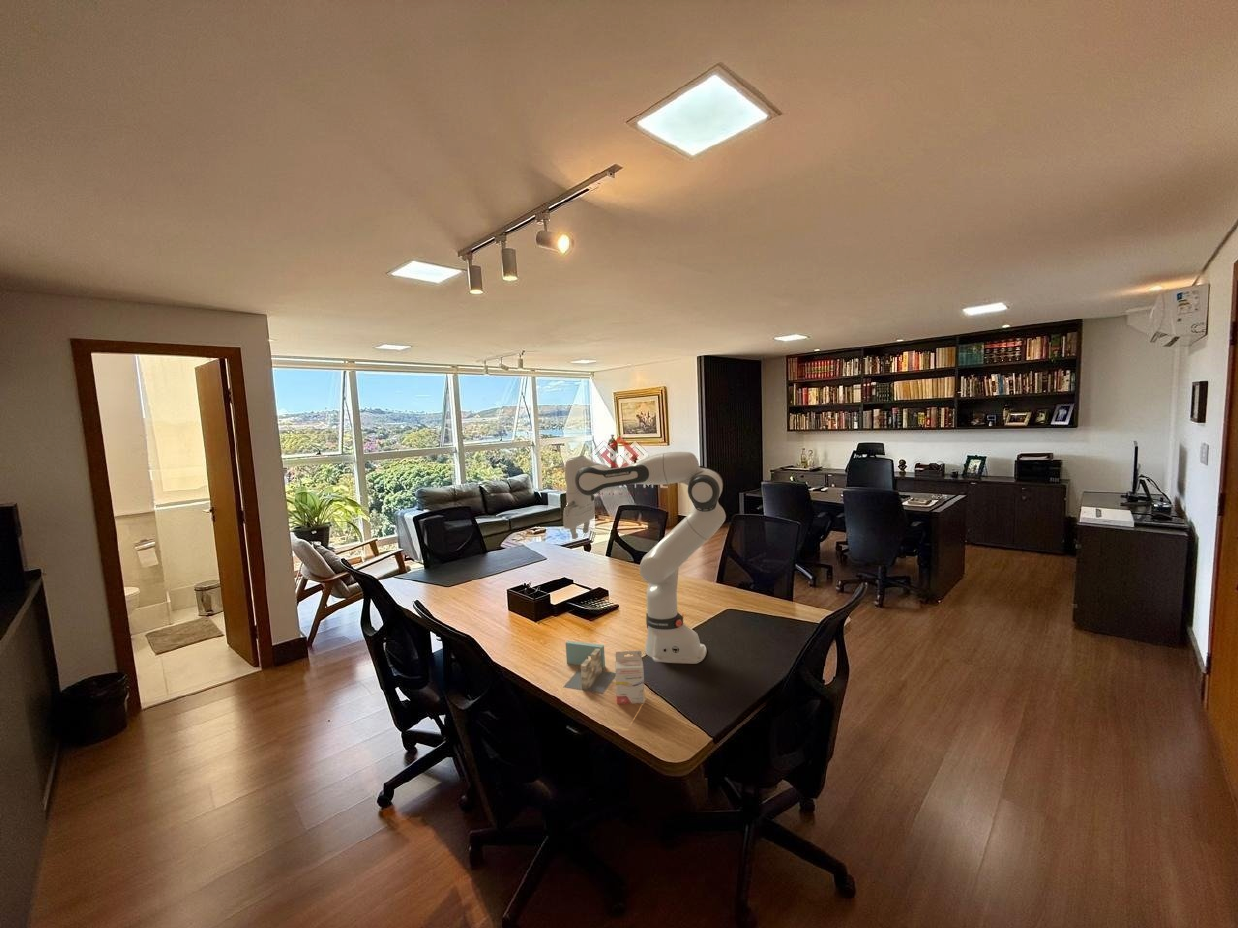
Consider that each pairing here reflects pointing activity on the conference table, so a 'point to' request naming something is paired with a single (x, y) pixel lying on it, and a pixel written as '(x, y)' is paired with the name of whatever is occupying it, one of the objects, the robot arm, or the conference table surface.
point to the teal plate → (582, 652)
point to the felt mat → (597, 685)
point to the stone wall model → (591, 669)
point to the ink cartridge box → (629, 678)
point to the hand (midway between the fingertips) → (580, 535)
